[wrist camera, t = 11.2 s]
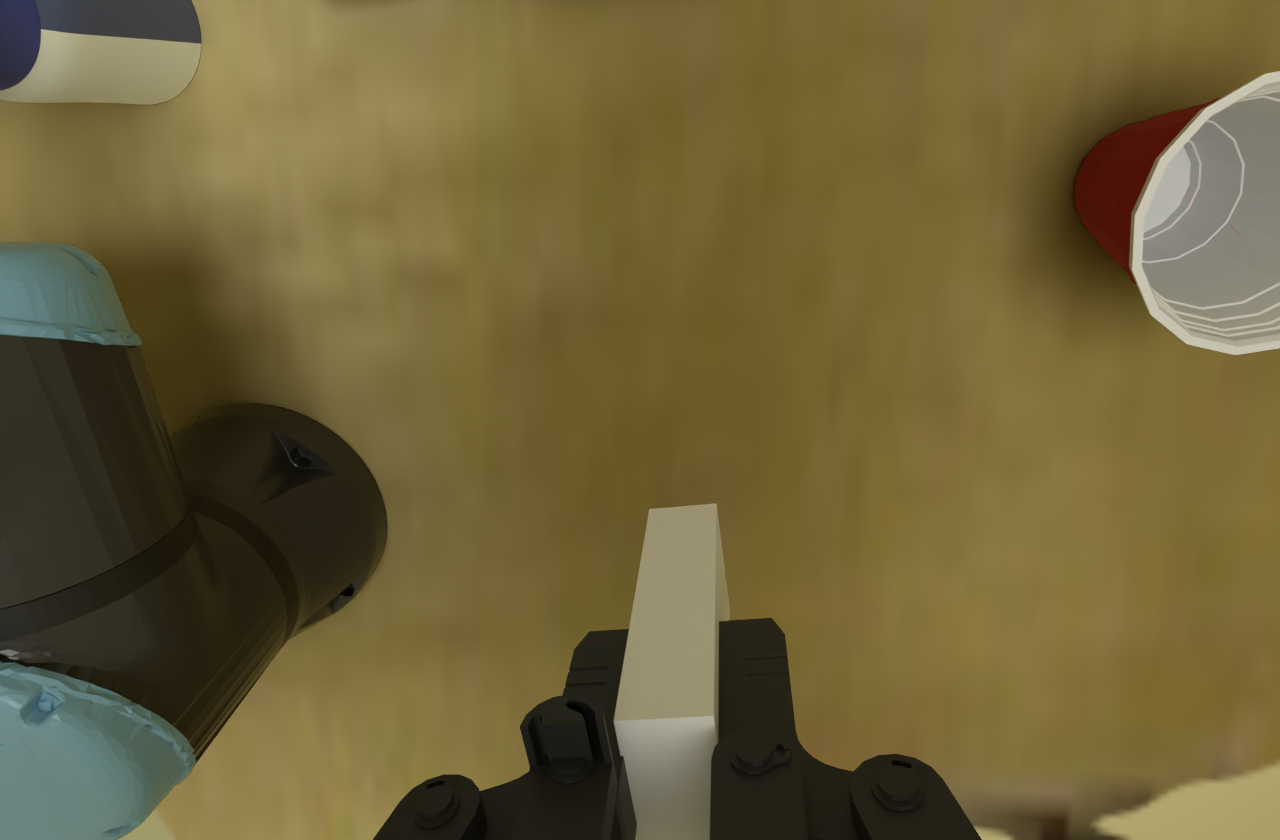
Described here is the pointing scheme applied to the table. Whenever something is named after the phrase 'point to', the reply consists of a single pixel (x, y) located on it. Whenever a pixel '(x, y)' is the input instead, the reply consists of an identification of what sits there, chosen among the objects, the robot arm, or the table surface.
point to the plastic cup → (1196, 215)
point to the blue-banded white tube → (97, 50)
